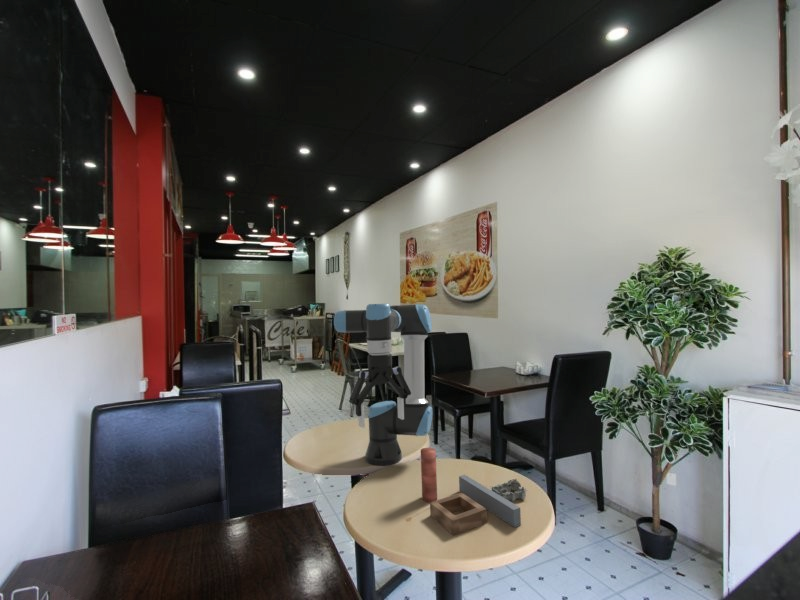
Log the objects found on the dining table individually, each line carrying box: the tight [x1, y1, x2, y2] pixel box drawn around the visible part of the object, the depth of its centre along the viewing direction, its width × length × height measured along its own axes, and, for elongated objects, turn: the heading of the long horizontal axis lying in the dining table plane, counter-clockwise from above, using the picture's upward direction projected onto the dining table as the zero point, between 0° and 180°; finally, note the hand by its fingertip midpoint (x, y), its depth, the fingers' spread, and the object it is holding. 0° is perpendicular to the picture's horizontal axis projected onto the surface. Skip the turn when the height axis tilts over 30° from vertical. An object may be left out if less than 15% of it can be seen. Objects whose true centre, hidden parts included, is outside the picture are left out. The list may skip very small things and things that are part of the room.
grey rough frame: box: [490, 478, 528, 502], centre depth 132 cm, size 11×8×4 cm
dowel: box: [420, 447, 438, 503], centre depth 132 cm, size 5×5×16 cm
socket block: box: [429, 492, 488, 536], centre depth 119 cm, size 12×12×4 cm
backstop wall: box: [458, 474, 522, 528], centre depth 126 cm, size 26×2×5 cm, turn 28°
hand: (381, 422), depth 122 cm, fingers open, 13 cm apart
